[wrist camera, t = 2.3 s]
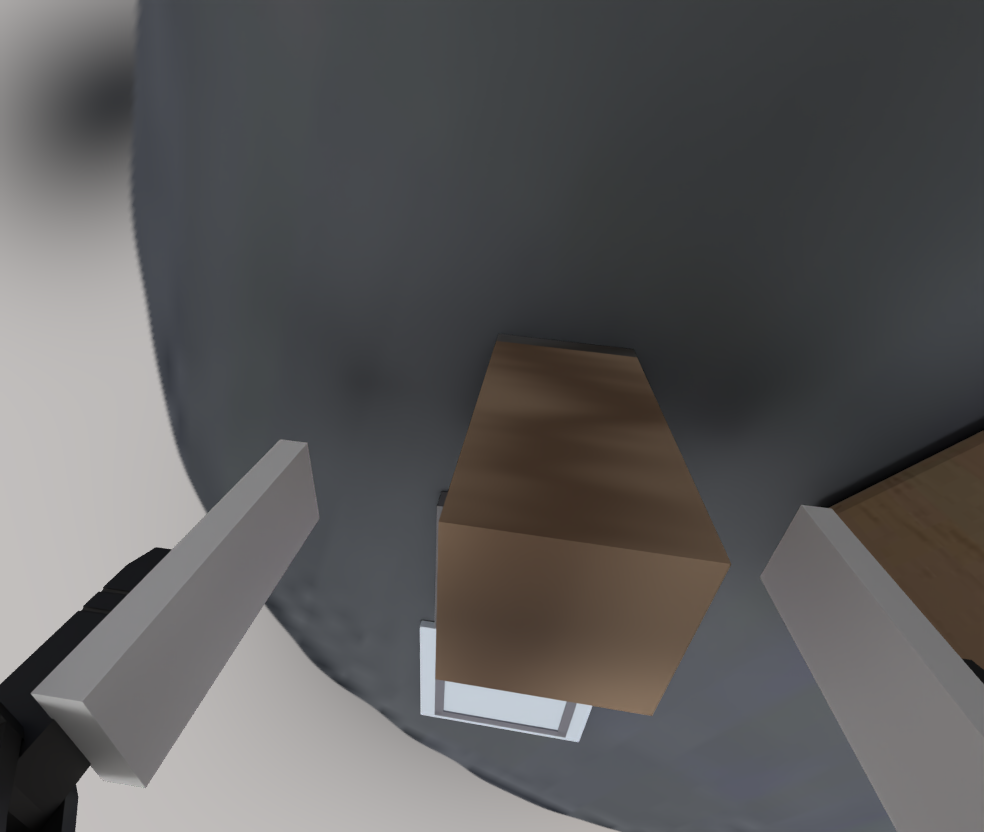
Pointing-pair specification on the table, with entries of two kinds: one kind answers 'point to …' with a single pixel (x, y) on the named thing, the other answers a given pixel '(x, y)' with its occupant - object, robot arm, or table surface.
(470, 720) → the print card
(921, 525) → the wooden block
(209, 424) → the table surface
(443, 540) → the stamp
